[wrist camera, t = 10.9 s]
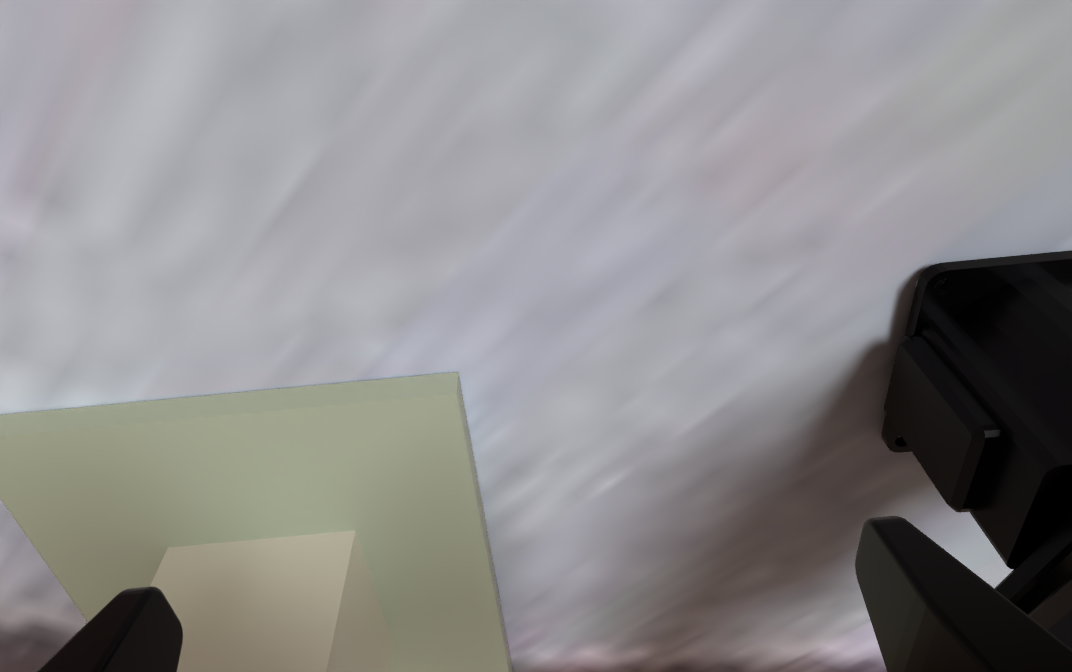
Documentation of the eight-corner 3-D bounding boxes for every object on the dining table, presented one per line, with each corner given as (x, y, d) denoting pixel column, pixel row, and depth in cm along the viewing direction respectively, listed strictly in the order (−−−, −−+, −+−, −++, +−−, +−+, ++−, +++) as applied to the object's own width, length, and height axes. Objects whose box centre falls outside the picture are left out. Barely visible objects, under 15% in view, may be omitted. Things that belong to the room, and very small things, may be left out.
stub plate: (458, 372, 21) (451, 456, 18) (514, 682, 30) (516, 771, 27) (-21, 416, 22) (-101, 507, 19) (177, 711, 31) (143, 803, 28)
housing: (355, 530, 23) (324, 679, 19) (392, 641, 27) (373, 789, 23) (168, 547, 23) (97, 699, 19) (228, 656, 27) (179, 805, 23)
